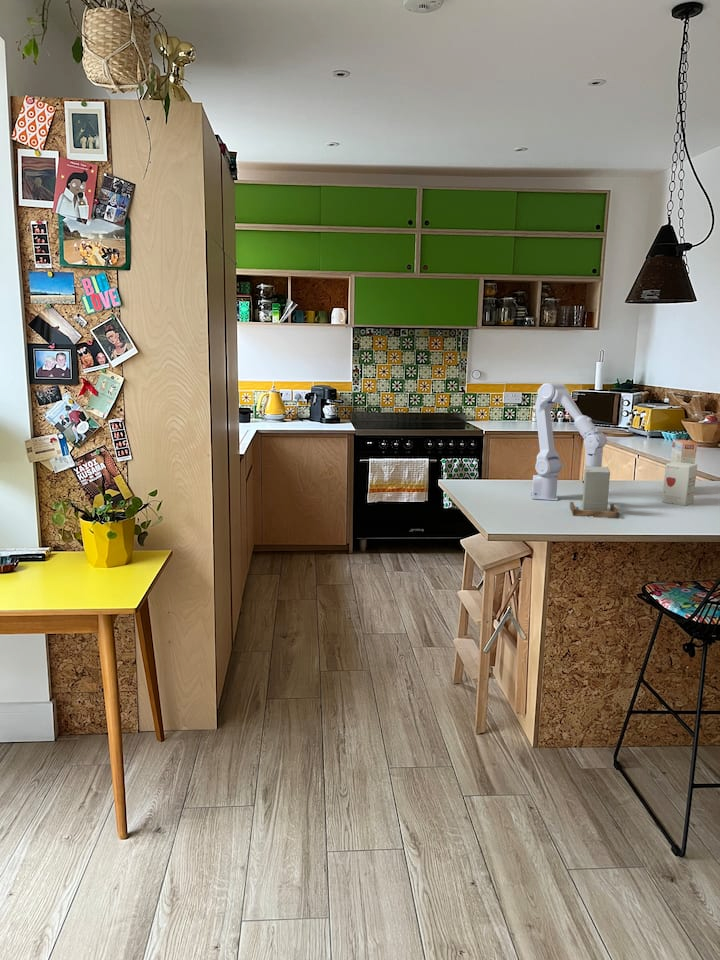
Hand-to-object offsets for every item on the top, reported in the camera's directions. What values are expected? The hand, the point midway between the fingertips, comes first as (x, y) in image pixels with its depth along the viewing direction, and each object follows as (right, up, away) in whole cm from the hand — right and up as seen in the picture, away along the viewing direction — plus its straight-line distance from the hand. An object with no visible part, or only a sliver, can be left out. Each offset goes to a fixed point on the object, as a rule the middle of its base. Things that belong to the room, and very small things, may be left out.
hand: (590, 502), depth 261 cm
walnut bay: (-2, -3, -10) cm, 11 cm away
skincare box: (-2, -3, -8) cm, 9 cm away
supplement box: (+37, -1, +11) cm, 38 cm away
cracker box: (+48, +3, +33) cm, 58 cm away
